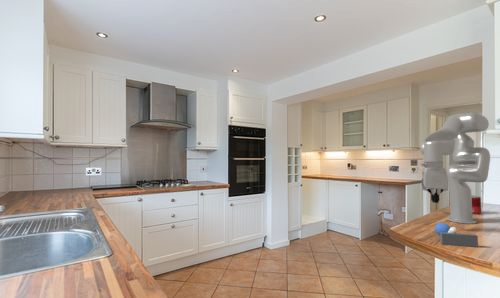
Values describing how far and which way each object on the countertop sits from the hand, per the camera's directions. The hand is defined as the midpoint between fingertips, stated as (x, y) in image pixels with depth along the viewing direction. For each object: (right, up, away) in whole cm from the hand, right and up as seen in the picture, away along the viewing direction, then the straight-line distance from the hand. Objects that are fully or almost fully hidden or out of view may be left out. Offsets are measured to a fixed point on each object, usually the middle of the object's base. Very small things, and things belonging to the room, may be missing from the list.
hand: (435, 202), depth 126 cm
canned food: (+49, -15, +35) cm, 62 cm away
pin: (-4, -12, -14) cm, 19 cm away
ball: (-5, -10, -11) cm, 16 cm away
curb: (-7, -13, -22) cm, 27 cm away
